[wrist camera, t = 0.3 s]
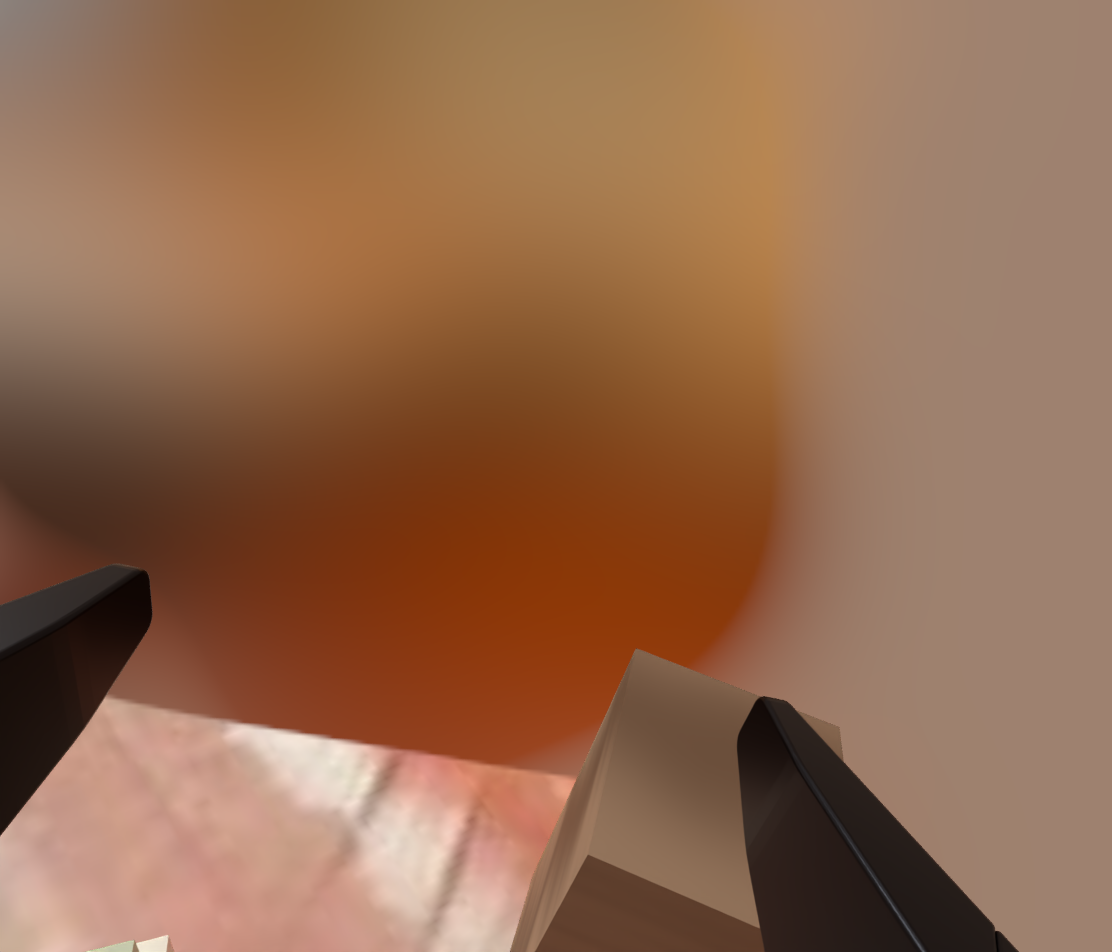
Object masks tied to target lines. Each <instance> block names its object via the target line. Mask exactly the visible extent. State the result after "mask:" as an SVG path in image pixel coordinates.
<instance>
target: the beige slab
mask: <svg viewBox="0 0 1112 952" xmlns="http://www.w3.org/2000/svg"><path fill="white" fill-rule="evenodd" d="M136 945H137V947H138V949H139V952H174V949H173V946H172V943H171V941H170V938H169V935H167V936H163V937H159V938H155V939H151V940H147V941H143V942H139V943H136Z"/></svg>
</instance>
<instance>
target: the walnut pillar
mask: <svg viewBox="0 0 1112 952" xmlns="http://www.w3.org/2000/svg"><path fill="white" fill-rule="evenodd" d="M759 697H760V696H757V695H755V694H752V693H750V692H747V691H745V690H742V689H740V688H737V687H734V686H732V685H729V684H727V683H724V682H722V681H719V680H716V679H714V678H711V677H708V676H706V675H704V674H701V673H698V672H696V671H693V670H691V669H688V668H685V667H683V666H680V665H678V664H675V663H673V662H670V661H667V660H665V659H662V658H660V657H657V656H654V655H652V654H649V653H647V652H644V651H642V650H639V649H636V650H635V652H634V654H633V656H632V658H631V661H630V663H629V665H628V667H627V670H626V672H625V674H624V676H623V678H622V681H621V683H620V685H619V687H618V689H617V692H616V694H615V696H614V698H613V700H612V703H611V705H610V707H609V709H608V712H607V714H606V716H605V718H604V720H603V723H602V725H601V727H600V729H599V731H598V733H597V736H596V738H595V740H594V742H593V744H592V747H591V749H590V751H589V753H588V755H587V758H586V760H585V762H584V764H583V766H582V769H581V771H580V773H579V775H578V777H577V780H576V782H575V784H574V786H573V788H572V791H571V793H570V795H569V797H568V799H567V802H566V804H565V806H564V808H563V810H562V813H561V815H560V817H559V819H558V821H557V824H556V826H555V828H554V830H553V832H552V835H551V837H550V839H549V841H548V843H547V846H546V848H545V850H544V852H543V854H542V857H541V859H540V861H539V863H538V865H537V868H536V870H535V872H534V874H533V877H532V880H531V884H530V887H529V890H528V894H527V897H526V900H525V904H524V907H523V910H522V914H521V917H520V920H519V924H518V927H517V930H516V934H515V937H514V940H513V944H512V947H511V950H510V952H764V947H763V941H762V936H761V931H760V925H759V920H758V915H757V910H756V904H755V899H754V894H753V888H752V883H751V878H750V873H749V867H748V861H747V855H746V847H745V838H744V828H743V816H742V805H741V793H740V781H739V769H738V758H737V738H738V734H739V731H740V729H741V727H742V725H743V724H744V722H745V720H746V718H747V716H748V714H749V712H750V710H751V709H752V707H753V705H754V703H755V701H756V700H757V699H758V698H759ZM797 712H798V713H799V714H800V715H801V716H802V717H803V718H804V719H805V720H806V722H807V723H808V724H809V725H810V726H811V727H812V728H813V729H814V730H815V731H816V732H817V734H818V735H819V736H820V737H821V738H822V739H823V740H824V741H825V742H826V743H827V744H828V745H829V747H830V748H831V749H832V750H833V751H834V752H835V753H836V754H837V755H838V756H839V757H840V758H841V760H842V761H843V754H842V745H841V737H840V729H839V727H838V726H835V725H833V724H830V723H827V722H825V721H822V720H819V719H817V718H814V717H812V716H809V715H807V714H804V713H802V712H799V711H797Z"/></svg>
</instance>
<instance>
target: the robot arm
mask: <svg viewBox="0 0 1112 952" xmlns="http://www.w3.org/2000/svg"><path fill="white" fill-rule="evenodd" d="M151 620H152V602H151V591H150V579H149V575H148V573H147V572H146V571H145V570H144V569H141V568H137V567H132V566H127V565H122V564H111V565H108V566H105V567H103V568H100V569H97V570H94V571H92V572H89V573H86V574H84V575H81V576H78V577H75V578H73V579H70V580H67V581H65V582H62V583H59V584H56V585H54V586H51V587H48V588H46V589H43V590H40V591H37V592H35V593H32V594H30V595H27V596H24V597H21V598H18V599H16V600H13V601H10V602H8V603H5V604H3V605H0V836H1V835H2V833H3V832H4V831H5V829H6V828H7V827H8V826H9V824H10V823H11V822H12V821H13V819H14V818H15V817H16V815H17V814H18V813H19V812H20V810H21V809H22V808H23V807H24V805H25V804H26V803H27V802H28V800H29V799H30V798H31V796H32V795H33V794H34V793H35V791H36V790H37V789H38V788H39V786H40V785H41V784H42V782H43V781H44V780H45V779H46V777H47V776H48V775H49V774H50V772H51V771H52V770H53V769H54V767H55V766H56V765H57V763H58V762H59V761H60V760H61V758H62V757H63V756H64V755H65V753H66V752H67V751H68V750H69V748H70V747H71V746H72V744H73V743H74V742H75V740H76V739H77V738H78V736H79V735H80V734H81V732H82V731H83V730H84V728H85V727H86V726H87V724H88V723H89V721H90V720H91V718H92V717H93V715H94V714H95V712H96V711H97V709H98V708H99V706H100V704H101V703H102V701H103V700H104V698H105V697H106V695H107V693H108V692H109V690H110V689H111V687H112V685H113V684H114V682H115V681H116V679H117V678H118V676H119V675H120V673H121V671H122V670H123V668H124V667H125V665H126V664H127V662H128V660H129V659H130V657H131V656H132V654H133V653H134V651H135V649H136V648H137V646H138V645H139V643H140V642H141V640H142V639H143V637H144V635H145V633H146V632H147V630H148V628H149V626H150V623H151ZM737 758H738V769H739V781H740V793H741V805H742V816H743V828H744V838H745V847H746V855H747V861H748V867H749V873H750V878H751V883H752V888H753V894H754V899H755V904H756V910H757V915H758V920H759V925H760V931H761V936H762V941H763V947H764V952H1019V951H1018V950H1017V949H1016V948H1015V947H1014V946H1013V945H1012V944H1011V943H1010V942H1009V941H1008V940H1007V938H1005V936H1004V935H1003V934H1002V933H1001V932H999V931H995V927H994V925H993V924H992V922H991V921H990V920H989V919H988V918H987V917H986V916H985V915H984V914H983V913H982V912H981V910H979V908H978V907H977V906H976V905H975V904H974V903H973V902H972V901H971V900H970V899H969V898H968V896H967V895H966V894H965V893H964V892H963V891H962V890H961V889H960V888H959V887H958V886H957V884H956V883H955V882H954V881H953V880H952V879H951V878H950V877H949V876H948V875H947V874H946V873H945V871H944V870H943V869H942V868H941V867H940V866H939V865H938V864H937V863H936V862H935V861H934V860H933V858H932V857H931V856H930V855H929V854H928V853H927V852H926V851H925V850H924V849H923V848H922V846H921V845H920V844H919V843H918V842H917V841H916V840H915V839H914V838H913V837H912V836H911V834H910V833H909V832H908V831H907V830H906V829H905V828H904V827H903V826H902V825H901V824H900V823H899V821H897V819H896V818H895V817H894V816H893V815H892V814H891V813H890V812H889V811H888V810H887V808H886V807H885V806H884V805H883V804H882V803H881V802H880V801H879V800H878V799H877V798H876V796H874V794H873V793H872V792H871V791H870V790H869V789H868V788H867V787H866V786H865V785H864V784H863V782H862V781H861V780H860V779H859V778H858V777H857V776H856V775H855V774H854V773H853V772H852V771H851V769H850V768H849V767H848V766H847V765H846V764H845V763H844V762H843V761H842V760H841V758H840V757H839V756H838V755H837V754H836V753H835V752H834V751H833V750H832V749H831V748H830V747H829V745H828V744H827V743H826V742H825V741H824V740H823V739H822V738H821V737H820V736H819V735H818V734H817V732H816V731H815V730H814V729H813V728H812V727H811V726H810V725H809V724H808V723H807V722H806V720H805V719H804V718H803V717H802V716H801V715H800V714H799V713H798V712H797V711H796V710H795V709H794V708H793V706H792V705H791V704H789V703H788V702H787V701H784V700H780V699H776V698H771V697H765V696H763V697H759V698H758V699H757V700H756V701H755V703H754V705H753V707H752V709H751V710H750V712H749V714H748V716H747V718H746V720H745V722H744V724H743V725H742V727H741V729H740V731H739V734H738V738H737Z"/></svg>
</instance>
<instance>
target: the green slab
mask: <svg viewBox="0 0 1112 952" xmlns="http://www.w3.org/2000/svg"><path fill="white" fill-rule="evenodd" d="M86 952H139V949H138V947H137V945H136V943H135V940H132V941H127V942H123V943H119V944H115V945H111V946H107V947H103V948H99V949H95V950H90V951H86Z"/></svg>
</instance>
